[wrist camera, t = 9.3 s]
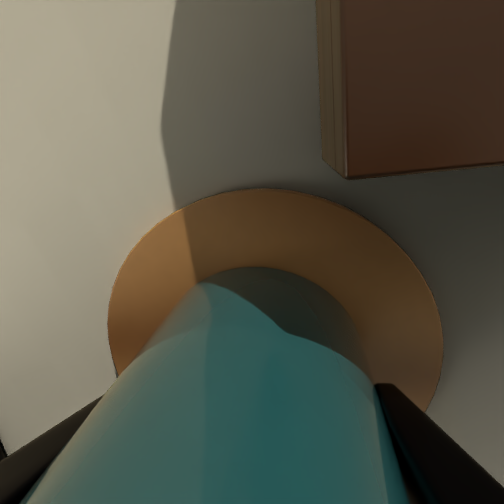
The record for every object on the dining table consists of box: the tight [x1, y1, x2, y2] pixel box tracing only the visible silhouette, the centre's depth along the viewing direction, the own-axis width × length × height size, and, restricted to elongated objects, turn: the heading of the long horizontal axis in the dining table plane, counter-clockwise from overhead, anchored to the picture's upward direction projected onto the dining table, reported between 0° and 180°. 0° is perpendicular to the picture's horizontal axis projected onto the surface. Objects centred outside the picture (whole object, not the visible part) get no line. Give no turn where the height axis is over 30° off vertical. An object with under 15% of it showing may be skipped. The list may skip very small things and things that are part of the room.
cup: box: [19, 267, 410, 504], centre depth 6 cm, size 6×6×7 cm
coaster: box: [107, 188, 443, 413], centre depth 10 cm, size 10×10×1 cm
